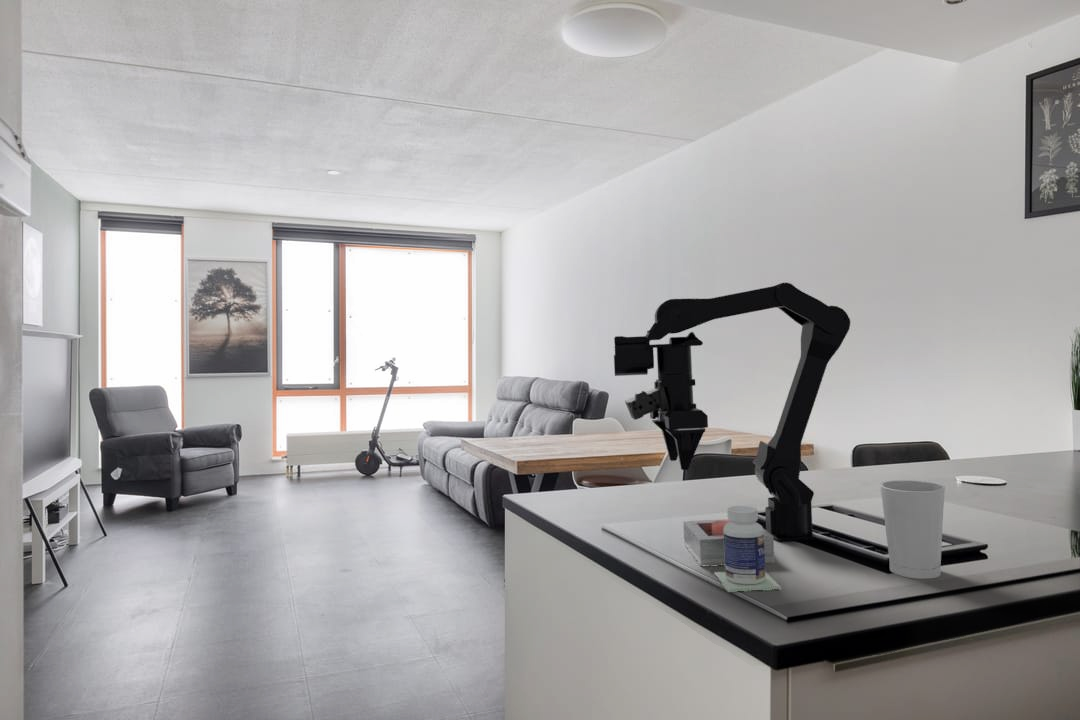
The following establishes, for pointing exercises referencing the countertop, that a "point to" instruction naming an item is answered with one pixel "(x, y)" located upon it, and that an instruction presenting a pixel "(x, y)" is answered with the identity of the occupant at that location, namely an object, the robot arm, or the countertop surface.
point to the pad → (734, 587)
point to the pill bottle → (744, 546)
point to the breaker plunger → (718, 527)
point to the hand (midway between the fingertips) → (678, 465)
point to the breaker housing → (714, 543)
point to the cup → (913, 527)
